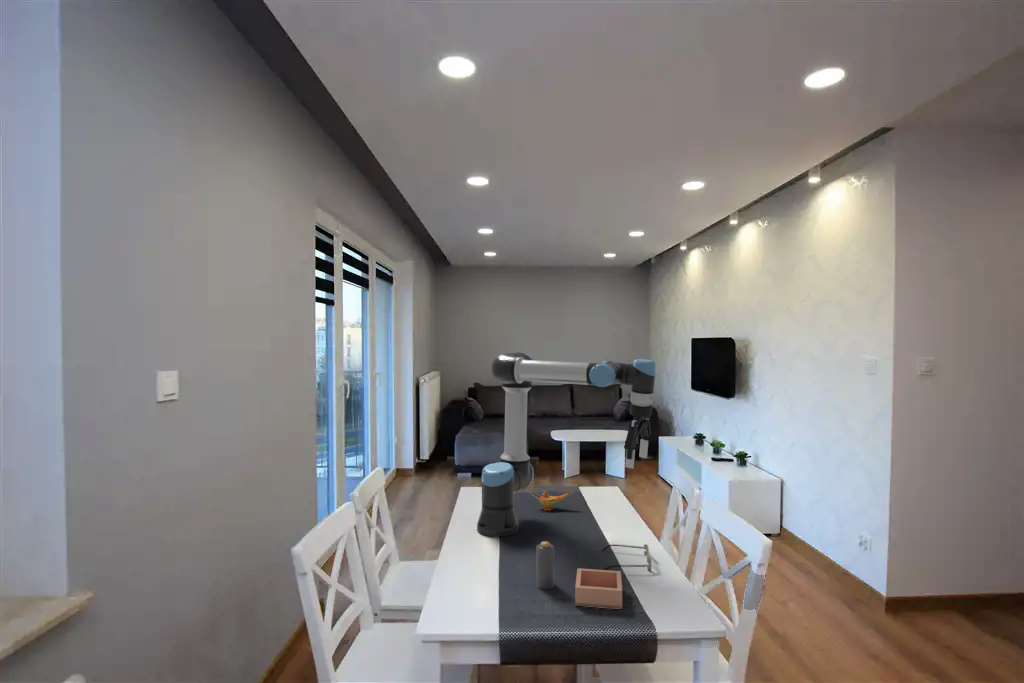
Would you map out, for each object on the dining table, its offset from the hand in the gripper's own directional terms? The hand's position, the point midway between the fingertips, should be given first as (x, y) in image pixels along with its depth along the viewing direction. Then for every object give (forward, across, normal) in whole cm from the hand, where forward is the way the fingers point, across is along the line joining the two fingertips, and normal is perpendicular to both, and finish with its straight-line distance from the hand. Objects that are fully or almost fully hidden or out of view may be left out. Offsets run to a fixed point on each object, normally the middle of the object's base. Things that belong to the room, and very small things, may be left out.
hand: (636, 462), depth 191 cm
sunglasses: (+24, -25, -8) cm, 36 cm away
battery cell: (+23, -53, +5) cm, 58 cm away
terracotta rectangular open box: (+21, -51, -10) cm, 56 cm away
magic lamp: (+32, +9, +37) cm, 50 cm away
